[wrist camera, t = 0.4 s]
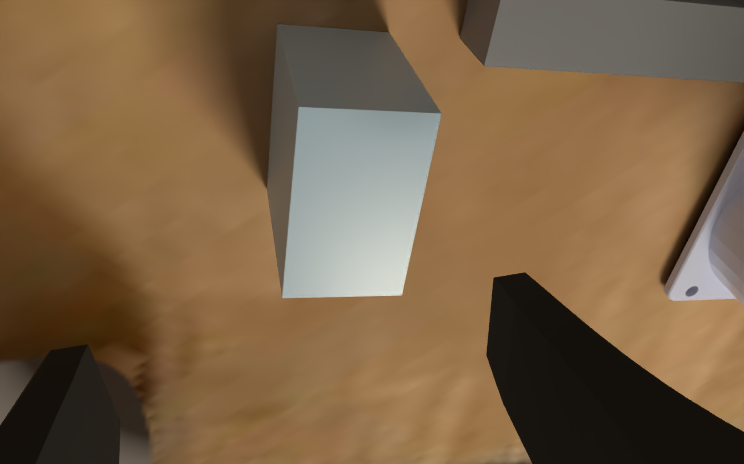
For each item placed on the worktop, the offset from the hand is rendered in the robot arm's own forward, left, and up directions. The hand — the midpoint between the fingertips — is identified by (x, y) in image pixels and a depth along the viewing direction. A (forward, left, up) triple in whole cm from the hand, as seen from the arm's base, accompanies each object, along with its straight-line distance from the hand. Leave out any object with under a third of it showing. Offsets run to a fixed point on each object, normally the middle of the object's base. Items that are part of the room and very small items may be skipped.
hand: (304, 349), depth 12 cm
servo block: (-2, -1, -9) cm, 9 cm away
